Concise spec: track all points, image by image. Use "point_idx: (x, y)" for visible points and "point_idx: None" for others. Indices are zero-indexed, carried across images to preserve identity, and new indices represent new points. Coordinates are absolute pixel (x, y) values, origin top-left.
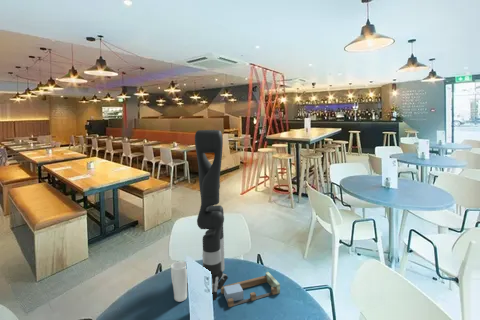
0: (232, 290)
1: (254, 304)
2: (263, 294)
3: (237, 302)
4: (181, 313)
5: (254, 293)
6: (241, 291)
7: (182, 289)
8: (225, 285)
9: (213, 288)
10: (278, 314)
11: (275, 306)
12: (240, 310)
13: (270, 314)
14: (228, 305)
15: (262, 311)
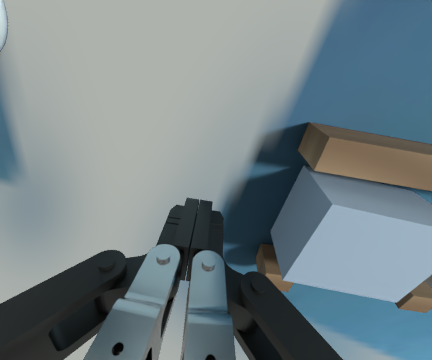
0: (344, 271)
1: None
2: None
3: None
4: (3, 175)
5: (427, 306)
6: (382, 297)
7: None
8: (380, 146)
9: (189, 283)
10: (373, 346)
11: (409, 328)
12: None
13: (354, 337)
14: (258, 257)
15: (347, 322)
